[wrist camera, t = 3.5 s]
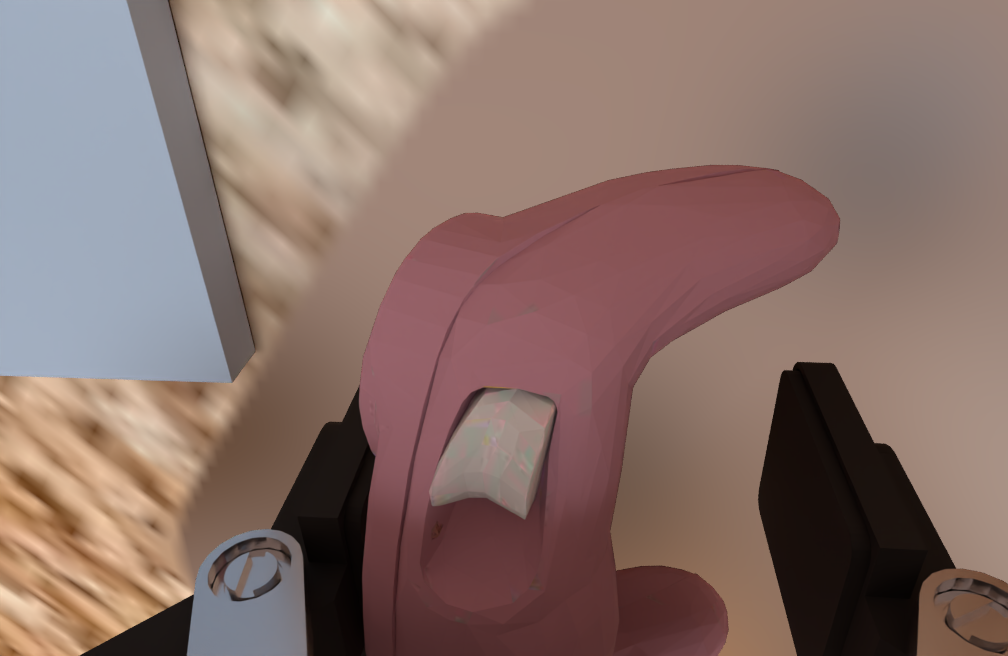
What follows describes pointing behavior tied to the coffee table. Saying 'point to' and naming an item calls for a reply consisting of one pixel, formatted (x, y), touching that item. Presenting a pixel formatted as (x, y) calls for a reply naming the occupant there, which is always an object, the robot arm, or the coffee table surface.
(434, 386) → the video game controller
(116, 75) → the blueprint board
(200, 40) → the coffee table surface
